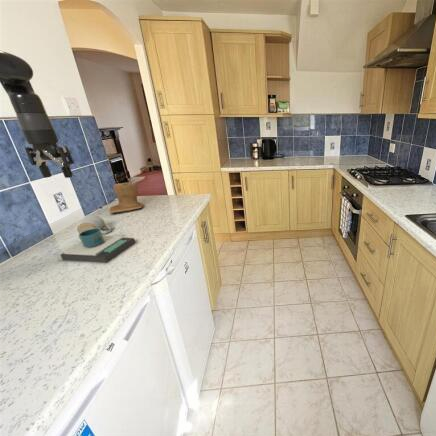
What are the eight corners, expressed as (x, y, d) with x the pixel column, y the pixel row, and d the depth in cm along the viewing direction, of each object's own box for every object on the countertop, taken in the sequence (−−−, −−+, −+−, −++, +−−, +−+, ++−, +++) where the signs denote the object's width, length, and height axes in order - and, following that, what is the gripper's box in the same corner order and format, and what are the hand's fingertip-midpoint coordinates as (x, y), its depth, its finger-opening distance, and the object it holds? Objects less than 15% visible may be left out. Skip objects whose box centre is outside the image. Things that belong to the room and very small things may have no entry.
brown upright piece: (144, 204, 142) (136, 178, 136) (143, 210, 132) (135, 183, 126) (113, 209, 135) (104, 182, 129) (110, 216, 126) (100, 188, 120)
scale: (62, 260, 87) (59, 252, 86) (96, 241, 100) (93, 234, 99) (107, 262, 85) (104, 255, 84) (135, 243, 98) (133, 236, 97)
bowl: (79, 248, 89) (73, 236, 87) (94, 239, 95) (89, 228, 93) (94, 248, 88) (89, 236, 86) (108, 240, 94) (104, 228, 92)
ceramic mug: (79, 239, 102) (72, 223, 99) (87, 231, 109) (81, 215, 106) (108, 235, 105) (103, 219, 102) (114, 228, 112) (109, 212, 109)
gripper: (5, 129, 76) (29, 179, 83) (44, 128, 74) (65, 180, 81) (32, 128, 83) (52, 174, 90) (68, 127, 81) (85, 174, 88)
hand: (58, 177), depth 85 cm, fingers open, 8 cm apart
